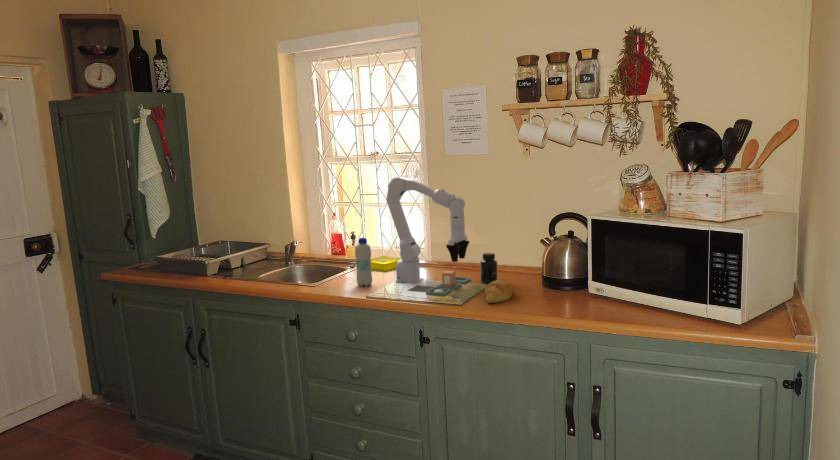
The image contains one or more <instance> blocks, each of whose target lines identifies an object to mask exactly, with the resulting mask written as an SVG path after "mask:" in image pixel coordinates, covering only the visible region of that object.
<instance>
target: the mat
mask: <svg viewBox="0 0 840 460" xmlns="http://www.w3.org/2000/svg"><path fill="white" fill-rule="evenodd" d="M432 288H437V286H431V285H430V286H428V285H414V286H413V287H411V288H409V289H407V292H419V293H426V292H427V291H429V290H430V289H432Z"/></svg>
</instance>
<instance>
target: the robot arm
mask: <svg viewBox="0 0 840 460" xmlns="http://www.w3.org/2000/svg"><path fill="white" fill-rule="evenodd" d="M407 191H416V192H417V193H420V194H423V195H425V196H428V197H429V198H431V199H432V201H433V203H436V204H437V205H440V206H442V207H445V208H446V209H448V210H449V211H450V212H449V213H450V217H449V218H450V219H449V220H450V222H449V223H450V238H449V240H448V243H447V244H446V248H447V250H448V252H449V255H450V258H451V262H452V263H458V260H459V259H465V258H466V254H467V248H468V245H469V244H470V240H468V236H467V235H465V234H466V232H465V231H466V230H465V227H466V226H465V207H466V202H465V200H464V199H463V198H462V197H461V196H457V195H456V194H454V193H453V194H452V193H449V192H447V191H446V189H444V188H441V189H440V188H438V189H433V188H431V187H429V186H427V185H426V184H423V183H422V182H419V181H417V180H416V179H413V178H411V177H409V178H408V177H407V176H405V175H402V176H395V177H393V178H392V179H391V180H390V182H389V183H388V185H387V193H386V194H387V195H386V204H387V206H388V209H389V212H390V215H391V217H392V218H391V219H392V222H393V224H394V226H395V230H396V233H397V236H398V239H399V248H400V251H399V255H400V258H402V260H399V261H398V262H397V265H396V269H395V270H396V272H395V274H396V280H395V282H396V283H402V284H403V283H406V284H407V283H408V284H417V283H419V282H421V281H423V280H424V278H421V275H420V274H421V273H420V272H421V270H420V269H421V267H420V258H419V255H420V254H421V247H420V245H419V244H417V242H416V239H415V238H414V237H413V236H412V233H411V231H410V227H409V225H408V221H407V217H406V216H405V213H404V210H403V209H404V208H403V206H402V203H401V199H402V197H403V195H404V194H405V193H406V192H407Z"/></svg>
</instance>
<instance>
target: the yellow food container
mask: <svg viewBox="0 0 840 460" xmlns="http://www.w3.org/2000/svg"><path fill="white" fill-rule="evenodd" d="M399 260H402V258H401V257H396V256H388V255H381V256H378V257H377V256H376V257H373V258H371V271H375V272H380V273H381V272H383V273H384V272H385V273H386V272H390V271H394V270H396V265H397V262H398V261H399Z"/></svg>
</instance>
